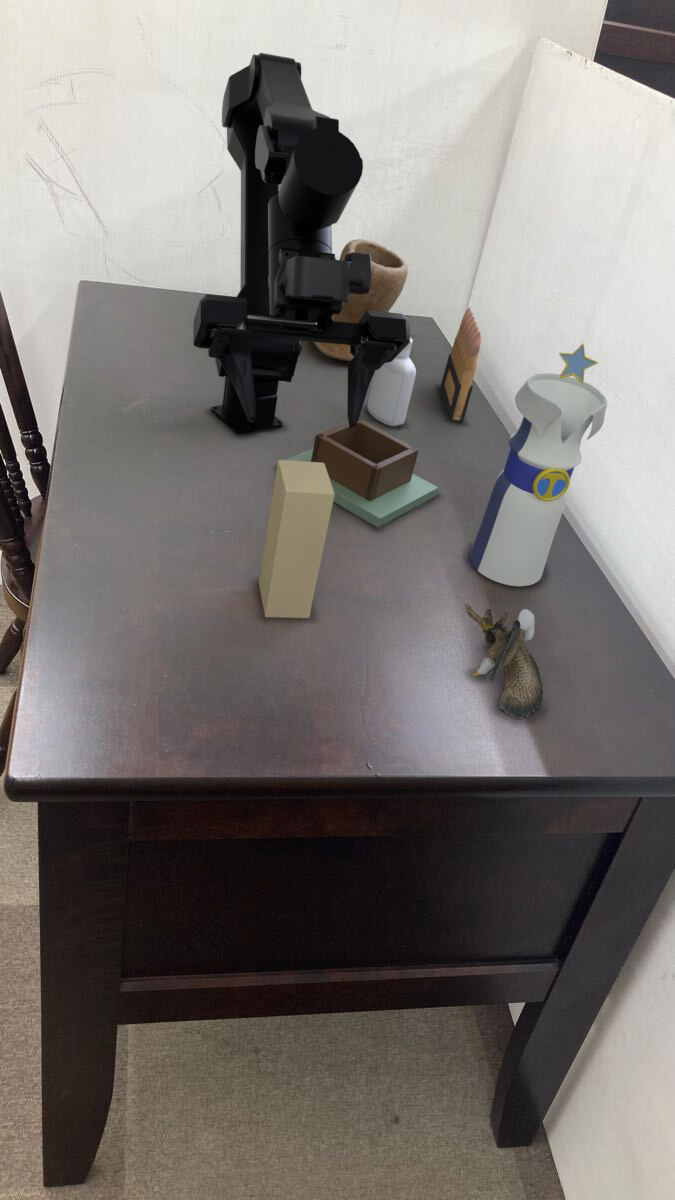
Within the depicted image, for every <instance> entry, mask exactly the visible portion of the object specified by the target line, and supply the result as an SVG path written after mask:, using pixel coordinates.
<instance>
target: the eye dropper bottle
mask: <svg viewBox="0 0 675 1200" xmlns="http://www.w3.org/2000/svg"><path fill="white" fill-rule="evenodd" d="M413 342H414V340H413V339H412V337H410V343H409V344H408V345H407V346H406V347H405V348H404V349H403V350H402V351H401V352H400V353H399V354H398V355H397V357H396V358H395V359H394V360H393V361H392V362H388V363H384V364H383V366H382V367H381V368H380V369H378V370H375V373H374V375H373V377H372V382H371V387H370V391H369V395H368V401H367V406H366V409H367V411H368V413H369V414H370V415H371V416H372V417H373V418H374V419H375V420H377V421H378V422H380V423H382V424H384V425H386V426H389V427H397V426H403V425H405V422H406V418H407V414H408V410H409V406H410V401H411V398H412V393H413V389H414V385H415V381H416V375H417V369H416V366H415V364H414V362H413V360H412V359H411V358H410V354H411V351H412V350H411V349H412V346H413Z"/></svg>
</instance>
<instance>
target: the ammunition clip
mask: <svg viewBox="0 0 675 1200" xmlns="http://www.w3.org/2000/svg"><path fill="white" fill-rule="evenodd" d="M477 323H478V322H477V321H476V317H474V314H473V312H472V309H471V307H470V306H469V307H468V308H467V309H466V311H465V312H464V314H463V317H462V319H461V322H460V325H459V328H458V331H457V333H456V335H455V338H454V341H453V345H452V349H451V353H449V354H448V357H447V361H446V364H445V368H444V372H443V376H442V380H441V383H440V386H439V388H440V393H441V396H442V400H443V403H444V407H445V408H444V409H445V411H446V414H447V419H448V421H449V422H454V423H461V424H462V423H464V420H465V417H466V412H467V409H468V405H469V402H470V399H471V394H472V391H473V387H474V386H473V381H474V377H475V374H476V371H477V366H478V359H479V353H480V350H481V344H482V334H481V331H480V328H479V326H478V324H477Z"/></svg>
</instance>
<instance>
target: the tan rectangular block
mask: <svg viewBox="0 0 675 1200" xmlns="http://www.w3.org/2000/svg"><path fill="white" fill-rule="evenodd" d="M334 495H335V494H334V491H333V488H332V485H331V482H330V479H329V476H328V473H327V470H326V467H325V464H324V463H319V462H304V461H290V460H285V459H278V460H277V463H276V471H275V476H274V483H273V489H272V496H271V502H270V509H269V513H268V514H269V516H268V521H267V527H266V533H265V540H264V548H263V553H262V561H261V565H260V571H259V572H260V573H259V579H258V587H259V592H260V597H261V602H262V603H261V604H262V608H263V613H264V617H265V618H277V619H278V618H281V619H310V618H311V612H312V608H313V607H312V606H313V601H314V596H315V592H316V587H317V583H318V578H319V574H320V573H319V572H320V568H321V563H322V558H323V553H324V548H325V543H326V540H327V539H326V538H327V535H328V534H327V533H328V528H329V525H330V519H331V514H332V510H333V504H334V502H333V500H334Z"/></svg>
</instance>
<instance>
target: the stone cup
mask: <svg viewBox="0 0 675 1200" xmlns="http://www.w3.org/2000/svg"><path fill="white" fill-rule="evenodd" d="M352 252H354V253H363V254H370V255H371V265H372V279H371V288H370V291H369V293H367V294H363V295H359V294H349V302H348V303H345V302H344V301H342V308H343V309H342V310H341V312H340V313H339V314H333V321H338V322H348V323H358V321H359V320H360V319H361V317H362V316H363V315H364V313H365V312H366V311H367V310H371V311H381V312H390V311H391V309H392V308H393V306H394V305H395V304H396V302H397V301H398V299H399V297H400V296H401V293H402V291H403V289H404V287H405V284H406V281H407V277H408V273H409V272H408V264H407V263H406V261H405V260H404V259H403V258H402V257H401V256H400V255H398V254H397V253H396V252H395V251H393V250H391V249H390V248H389V249H388V248H387V247H386V246H385V245H382V244H379V243H377V242H374V241H372V240H368V239H363V238H357V239H356V238H355V239H352V240H351V241H348V242H347V243H346V244H345V245H344V247H343V248H342V251H341V253H340V257H339V260H342V261H345V256H346V255H347V254H350V253H352ZM313 344H314V345H315V347H316V349H317V350H318V351H319V352H321V353H322V354H323V355H324V356H326V357H329V358H331V359H335V360H338V361H344V362H348V363H349V362H350V361H351V360H352V359H353V357H354V356H353V355H352V354H351V353H350V345H344V344H333V343H321V342H313Z"/></svg>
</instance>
